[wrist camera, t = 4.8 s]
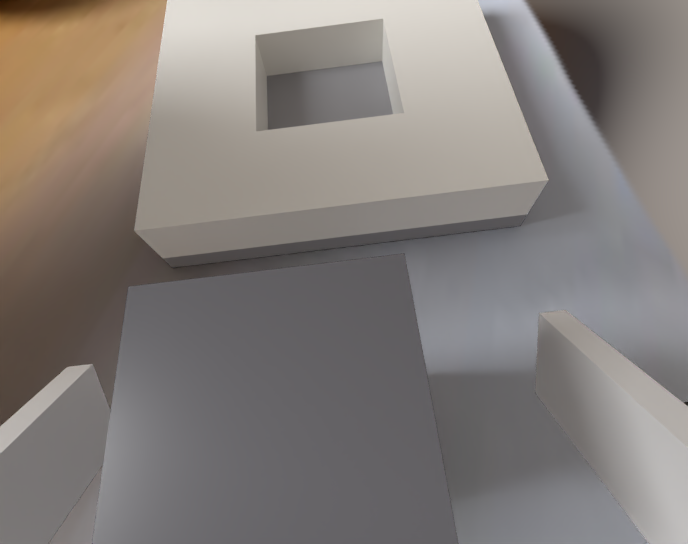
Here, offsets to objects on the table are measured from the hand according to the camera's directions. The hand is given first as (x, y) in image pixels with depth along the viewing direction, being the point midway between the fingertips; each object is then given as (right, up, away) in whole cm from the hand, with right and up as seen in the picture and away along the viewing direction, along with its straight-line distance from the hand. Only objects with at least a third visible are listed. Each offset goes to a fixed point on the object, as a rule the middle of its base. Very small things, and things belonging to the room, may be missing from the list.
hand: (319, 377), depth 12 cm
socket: (0, +12, +11) cm, 16 cm away
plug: (0, -4, +4) cm, 5 cm away
